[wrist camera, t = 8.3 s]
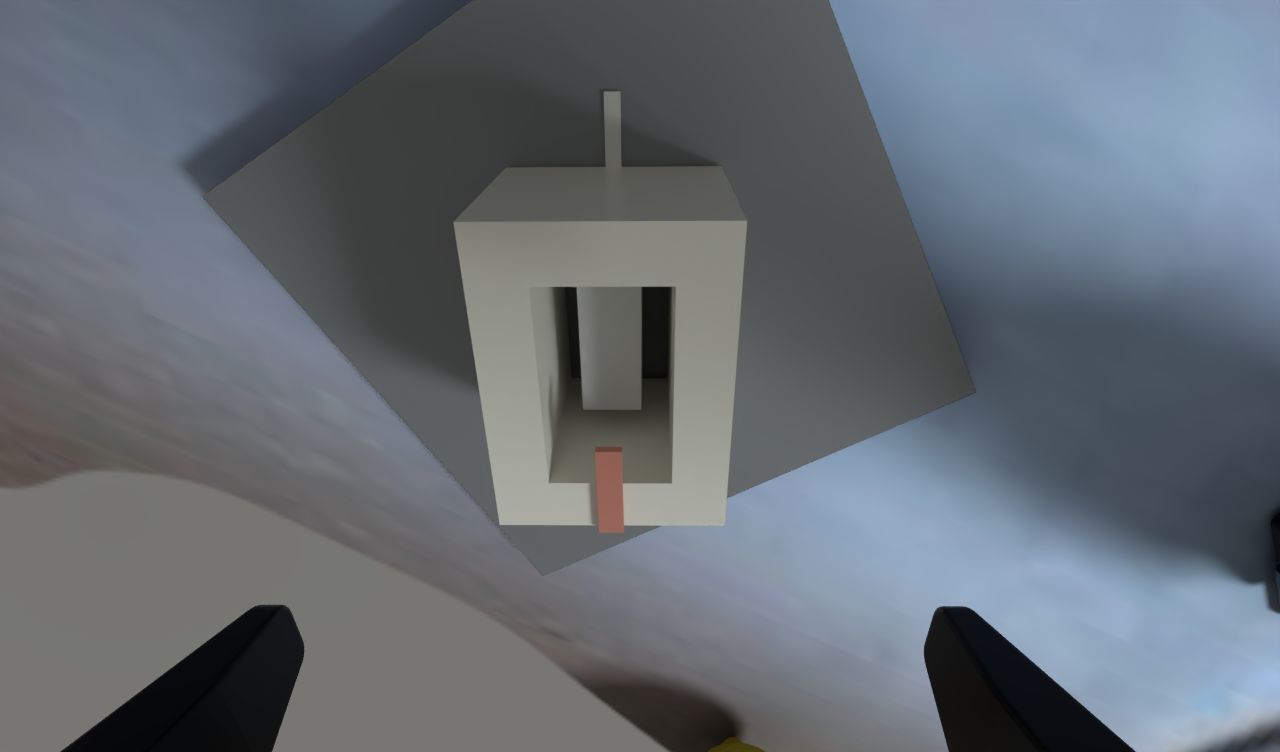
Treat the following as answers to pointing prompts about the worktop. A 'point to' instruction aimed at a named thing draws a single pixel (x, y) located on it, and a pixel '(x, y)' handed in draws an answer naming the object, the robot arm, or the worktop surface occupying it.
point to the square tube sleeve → (540, 355)
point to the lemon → (734, 746)
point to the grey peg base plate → (613, 137)
